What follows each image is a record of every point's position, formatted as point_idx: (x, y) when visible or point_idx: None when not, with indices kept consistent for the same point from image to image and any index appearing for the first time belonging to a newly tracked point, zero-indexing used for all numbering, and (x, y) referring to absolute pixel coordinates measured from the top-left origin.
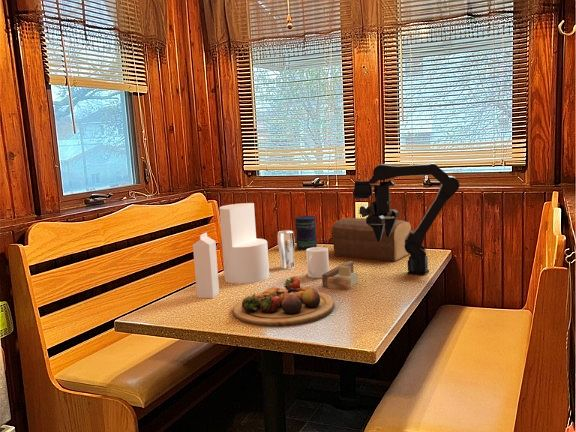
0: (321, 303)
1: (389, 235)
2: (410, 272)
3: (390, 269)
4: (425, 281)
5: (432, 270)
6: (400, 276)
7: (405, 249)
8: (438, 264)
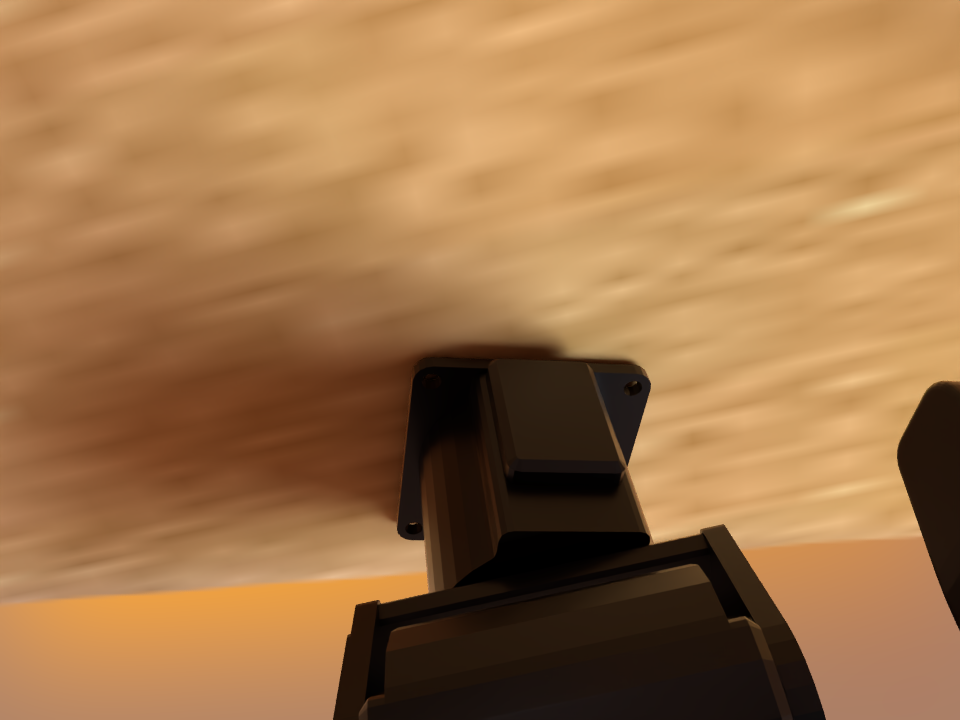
0: None
1: (927, 504)
2: (422, 400)
3: (656, 50)
4: (141, 586)
5: None
6: (256, 305)
7: (385, 660)
8: None
